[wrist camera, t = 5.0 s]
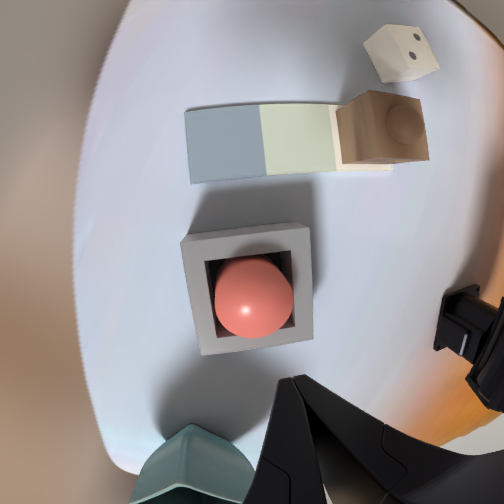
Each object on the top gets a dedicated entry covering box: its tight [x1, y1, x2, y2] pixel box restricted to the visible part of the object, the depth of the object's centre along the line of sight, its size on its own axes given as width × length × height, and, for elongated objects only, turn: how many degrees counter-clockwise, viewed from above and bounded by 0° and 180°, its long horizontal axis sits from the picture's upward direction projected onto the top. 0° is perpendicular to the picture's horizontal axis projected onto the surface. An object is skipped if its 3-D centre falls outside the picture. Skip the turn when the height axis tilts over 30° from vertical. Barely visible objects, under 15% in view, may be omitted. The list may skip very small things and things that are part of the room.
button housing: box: [180, 222, 313, 356], centre depth 18 cm, size 7×7×3 cm
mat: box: [184, 104, 393, 184], centre depth 17 cm, size 15×5×1 cm, turn 96°
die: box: [363, 24, 441, 83], centre depth 15 cm, size 4×4×4 cm
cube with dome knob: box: [335, 90, 429, 164], centre depth 15 cm, size 4×4×6 cm
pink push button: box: [215, 254, 293, 338], centre depth 17 cm, size 4×4×4 cm
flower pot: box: [129, 424, 255, 504], centre depth 18 cm, size 9×9×9 cm
